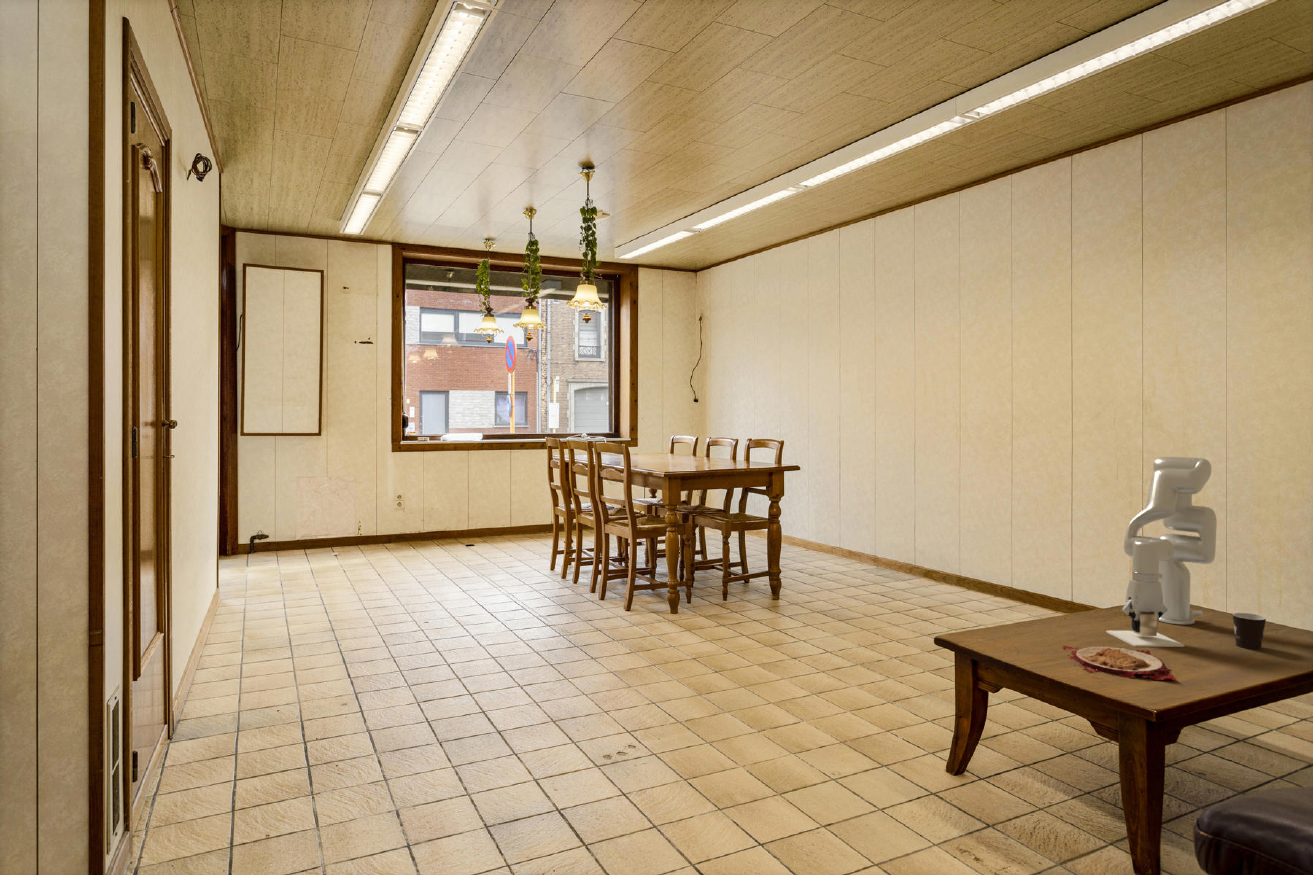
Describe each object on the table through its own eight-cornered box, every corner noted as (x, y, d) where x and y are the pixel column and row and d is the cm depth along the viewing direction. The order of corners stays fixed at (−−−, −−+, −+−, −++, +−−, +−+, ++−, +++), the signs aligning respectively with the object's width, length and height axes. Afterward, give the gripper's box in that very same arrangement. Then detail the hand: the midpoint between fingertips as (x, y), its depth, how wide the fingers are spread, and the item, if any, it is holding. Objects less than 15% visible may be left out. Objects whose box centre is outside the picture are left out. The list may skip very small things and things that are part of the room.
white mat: (1152, 632, 265) (1152, 630, 265) (1184, 646, 249) (1184, 644, 249) (1106, 632, 266) (1106, 630, 266) (1134, 646, 250) (1134, 644, 250)
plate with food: (1149, 656, 242) (1149, 645, 242) (1177, 683, 217) (1177, 670, 217) (1062, 650, 250) (1062, 639, 250) (1079, 675, 224) (1079, 663, 224)
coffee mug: (1260, 652, 243) (1260, 621, 243) (1227, 645, 250) (1228, 615, 250) (1272, 645, 250) (1273, 615, 250) (1240, 639, 257) (1241, 609, 257)
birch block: (1147, 631, 260) (1147, 611, 260) (1156, 635, 255) (1157, 615, 255) (1132, 631, 260) (1132, 611, 260) (1141, 635, 255) (1141, 615, 255)
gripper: (1163, 575, 260) (1162, 628, 261) (1113, 575, 261) (1112, 628, 261) (1178, 580, 253) (1177, 634, 254) (1126, 580, 253) (1125, 634, 254)
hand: (1144, 630), depth 257 cm, fingers closed on birch block, 4 cm apart
